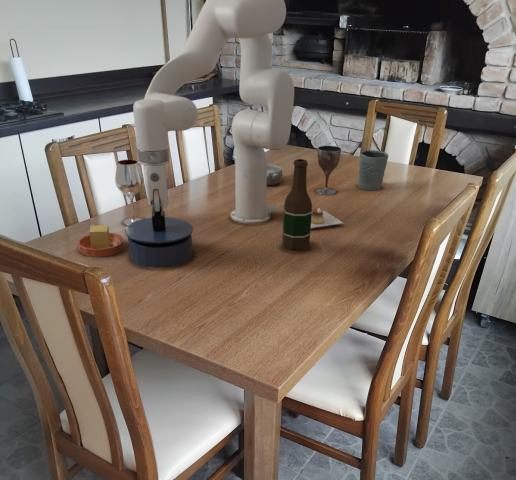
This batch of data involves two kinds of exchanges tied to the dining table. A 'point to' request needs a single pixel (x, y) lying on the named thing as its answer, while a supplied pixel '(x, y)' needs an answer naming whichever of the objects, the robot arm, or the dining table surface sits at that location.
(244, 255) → the dining table surface
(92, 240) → the cheese block
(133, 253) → the pan
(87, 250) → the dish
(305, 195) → the beer bottle
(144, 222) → the lid
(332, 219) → the dessert
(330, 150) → the wine glass
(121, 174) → the wineglass
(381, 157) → the green cup
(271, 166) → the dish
